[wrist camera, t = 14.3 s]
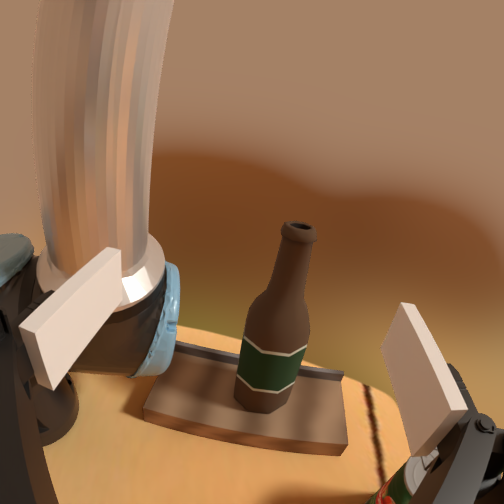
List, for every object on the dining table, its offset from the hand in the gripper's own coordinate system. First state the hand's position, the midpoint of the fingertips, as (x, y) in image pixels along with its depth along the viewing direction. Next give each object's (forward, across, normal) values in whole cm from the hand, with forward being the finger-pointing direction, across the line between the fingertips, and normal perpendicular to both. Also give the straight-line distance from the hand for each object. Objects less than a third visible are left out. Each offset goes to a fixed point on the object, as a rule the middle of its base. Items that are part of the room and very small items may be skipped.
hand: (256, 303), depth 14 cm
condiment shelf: (+17, +2, -29) cm, 34 cm away
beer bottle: (+18, +3, -26) cm, 32 cm away
